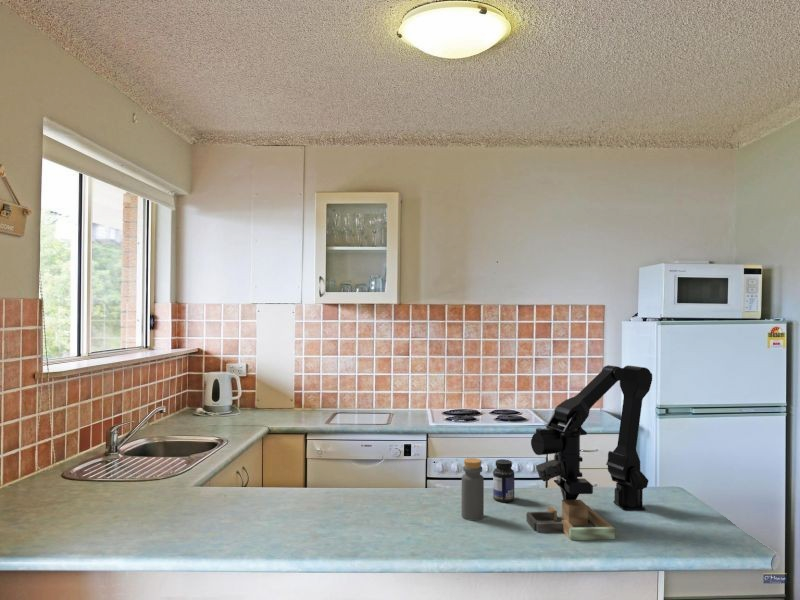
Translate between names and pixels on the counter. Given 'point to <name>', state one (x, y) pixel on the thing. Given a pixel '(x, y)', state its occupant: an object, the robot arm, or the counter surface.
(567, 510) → the walnut block
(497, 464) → the pill bottle
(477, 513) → the bottle
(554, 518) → the channel
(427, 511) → the counter surface
